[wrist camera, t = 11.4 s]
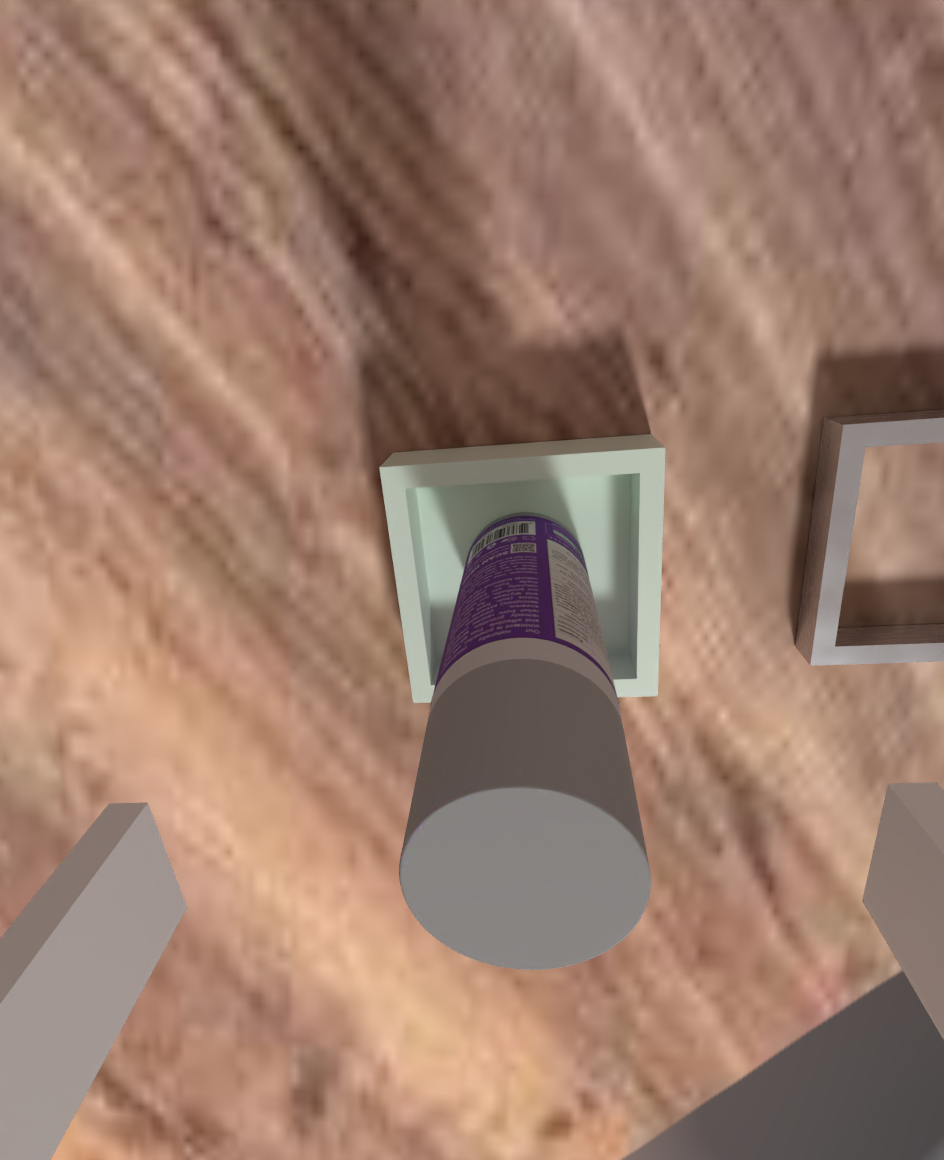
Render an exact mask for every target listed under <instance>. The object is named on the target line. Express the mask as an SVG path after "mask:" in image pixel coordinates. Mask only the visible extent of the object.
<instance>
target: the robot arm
mask: <svg viewBox="0 0 944 1160" xmlns="http://www.w3.org/2000/svg"><path fill="white" fill-rule="evenodd" d="M862 901H863V903H864V904H865V906H866V908H867V909H868V911H869V913H870V915H871V916H872V918H873V920H874V921H875V923H876V925H877V927H878V928H879V930H880V932H881V933H882V935H883V937H884V939H885V940H886V942H887V944H888V945H889V947H890V949H891V951H892V952H893V954H894V956H895V957H896V959H897V961H898V962H899V964H900V966H901V968H902V969H903V971H904V973H905V974H906V976H907V978H908V980H909V981H910V983H911V984H912V986H913V988H914V990H915V991H916V993H917V995H918V996H919V998H920V1000H921V1002H922V1004H923V1005H924V1007H925V1009H926V1010H927V1012H928V1014H929V1015H930V1017H931V1019H932V1021H933V1022H934V1024H935V1026H936V1027H937V1029H938V1031H939V1033H940V1034H941V1036H942V1038H943V1039H944V790H943V789H942V788H941V787H940V786H939V785H938V784H937V782H933V783H894V784H888V787H887V791H886V796H885V800H884V805H883V809H882V814H881V818H880V823H879V828H878V832H877V837H876V841H875V846H874V850H873V855H872V859H871V864H870V868H869V873H868V877H867V882H866V887H865V891H864V896H863V900H862ZM186 908H187V906H186V903H185V900H184V898H183V895H182V892H181V890H180V887H179V884H178V882H177V879H176V876H175V874H174V871H173V868H172V866H171V863H170V860H169V858H168V855H167V852H166V850H165V847H164V844H163V842H162V839H161V836H160V834H159V831H158V828H157V826H156V823H155V820H154V818H153V815H152V812H151V810H150V807H149V804H148V803H116V804H109V805H108V806H107V807H106V808H105V809H104V811H103V812H102V813H101V814H100V816H99V817H98V818H97V819H96V821H95V822H94V823H93V824H92V826H91V827H90V828H89V829H88V830H87V832H86V833H85V834H84V835H83V837H82V838H81V839H80V840H79V842H78V843H77V844H76V845H75V847H74V848H73V849H72V850H71V852H70V853H69V854H68V855H67V856H66V858H65V859H64V860H63V861H62V863H61V864H60V865H59V866H58V868H57V869H56V870H55V871H54V873H53V874H52V875H51V876H50V877H49V879H48V880H47V881H46V882H45V884H44V885H43V886H42V887H41V889H40V890H39V891H38V892H37V894H36V895H35V896H34V897H33V898H32V900H31V901H30V902H29V903H28V905H27V906H26V907H25V908H24V910H23V911H22V912H21V913H20V915H19V916H18V917H17V918H16V919H15V921H14V922H13V923H12V924H11V926H10V927H9V928H8V929H7V931H6V932H5V933H4V934H3V936H2V937H1V938H0V1160H51V1158H52V1156H53V1154H54V1153H55V1151H56V1149H57V1147H58V1145H59V1143H60V1141H61V1140H62V1138H63V1136H64V1134H65V1132H66V1130H67V1128H68V1127H69V1125H70V1123H71V1121H72V1119H73V1117H74V1116H75V1114H76V1112H77V1110H78V1108H79V1106H80V1104H81V1103H82V1101H83V1099H84V1097H85V1095H86V1093H87V1091H88V1090H89V1088H90V1086H91V1084H92V1082H93V1080H94V1079H95V1077H96V1075H97V1073H98V1071H99V1069H100V1067H101V1066H102V1064H103V1062H104V1060H105V1058H106V1056H107V1055H108V1053H109V1051H110V1049H111V1047H112V1045H113V1043H114V1042H115V1040H116V1038H117V1036H118V1034H119V1032H120V1030H121V1029H122V1027H123V1025H124V1023H125V1021H126V1019H127V1018H128V1016H129V1014H130V1012H131V1010H132V1008H133V1006H134V1005H135V1003H136V1001H137V999H138V997H139V995H140V994H141V992H142V990H143V988H144V986H145V984H146V982H147V981H148V979H149V977H150V975H151V973H152V971H153V969H154V968H155V966H156V964H157V962H158V960H159V958H160V957H161V955H162V953H163V951H164V949H165V947H166V945H167V944H168V942H169V940H170V938H171V936H172V934H173V933H174V931H175V929H176V927H177V925H178V923H179V921H180V920H181V918H182V916H183V914H184V912H185V910H186Z"/></svg>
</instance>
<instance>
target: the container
mask: <svg viewBox="0 0 944 1160" xmlns="http://www.w3.org/2000/svg"><path fill="white" fill-rule="evenodd" d="M399 877H400V884H401V888H402V892H403V895H404V898H405V900H406V903H407V905H408V907H409V908H410V910H411V912H412V913H413V915H414V916H415V918H416V919H417V920H418V921H419V923H420V924H421V925H422V926H423V927H424V928H425V929H426V930H427V931H428V932H429V933H430V934H431V935H432V936H434V937H435V938H436V939H437V940H438V941H440V942H441V943H443V944H444V945H446V946H447V947H449V948H451V949H453V950H454V951H456V952H458V953H460V954H462V955H464V956H467V957H469V958H471V959H474V960H477V961H480V962H483V963H487V964H490V965H494V966H499V967H504V968H512V969H523V970H543V969H553V968H560V967H565V966H570V965H574V964H577V963H580V962H583V961H586V960H589V959H591V958H594V957H596V956H598V955H600V954H602V953H604V952H606V951H607V950H609V949H611V948H612V947H614V946H615V945H616V944H618V943H619V942H620V941H622V940H623V939H624V938H625V937H626V936H627V935H628V934H629V933H630V932H631V931H632V930H633V929H634V927H635V926H636V924H637V923H638V922H639V920H640V918H641V917H642V915H643V913H644V911H645V908H646V906H647V903H648V900H649V895H650V887H651V875H650V869H649V863H648V858H647V852H646V847H645V842H644V836H643V831H642V826H641V820H640V815H639V810H638V804H637V799H636V794H635V788H634V783H633V778H632V772H631V767H630V762H629V756H628V751H627V746H626V740H625V735H624V730H623V725H622V719H621V713H620V707H619V702H618V698H617V694H616V689H615V685H614V681H613V677H612V672H611V668H610V664H609V660H608V656H607V651H606V647H605V643H604V639H603V634H602V630H601V626H600V622H599V618H598V613H597V609H596V605H595V601H594V596H593V592H592V588H591V584H590V580H589V575H588V571H587V567H586V563H585V559H584V555H583V552H582V549H581V547H580V544H579V543H578V541H577V539H576V538H575V536H574V535H573V534H572V532H571V531H570V530H569V529H568V528H567V527H565V526H564V525H563V524H562V523H560V522H559V521H557V520H555V519H553V518H551V517H549V516H546V515H543V514H539V513H533V512H519V513H513V514H509V515H506V516H503V517H500V518H498V519H496V520H494V521H493V522H491V523H490V524H488V525H487V526H486V527H485V528H484V529H483V530H482V531H481V532H480V533H479V534H478V535H477V537H476V538H475V540H474V541H473V543H472V545H471V547H470V550H469V553H468V556H467V560H466V564H465V568H464V572H463V576H462V580H461V584H460V588H459V592H458V596H457V600H456V604H455V608H454V612H453V616H452V620H451V624H450V628H449V632H448V636H447V640H446V644H445V648H444V652H443V656H442V660H441V664H440V668H439V672H438V676H437V680H436V684H435V688H434V692H433V696H432V700H431V707H430V712H429V718H428V723H427V728H426V733H425V738H424V743H423V748H422V753H421V758H420V763H419V768H418V773H417V778H416V783H415V788H414V793H413V798H412V803H411V808H410V813H409V818H408V823H407V828H406V833H405V838H404V843H403V848H402V853H401V858H400V865H399Z"/></svg>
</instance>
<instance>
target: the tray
mask: <svg viewBox="0 0 944 1160" xmlns="http://www.w3.org/2000/svg"><path fill="white" fill-rule="evenodd" d="M379 469H380V476H381V483H382V489H383V496H384V503H385V510H386V517H387V524H388V531H389V538H390V545H391V552H392V559H393V565H394V572H395V579H396V586H397V593H398V600H399V607H400V614H401V621H402V628H403V635H404V641H405V648H406V655H407V662H408V669H409V676H410V683H411V690H412V697H413V703H428V702H431V700H432V696H433V692H434V688H435V684H436V680H437V676H438V672H439V668H440V664H441V660H442V656H443V652H444V648H445V644H446V640H447V636H448V632H449V628H450V624H451V620H452V616H453V612H454V608H455V604H456V600H457V596H458V592H459V588H460V584H461V580H462V576H463V572H464V568H465V564H466V560H467V556H468V553H469V550H470V547H471V545H472V543H473V541H474V540H475V538H476V537H477V535H478V534H479V533H480V532H481V531H482V530H483V529H484V528H485V527H486V526H487V525H488V524H490V523H491V522H493V521H494V520H496V519H498V518H500V517H503V516H506V515H509V514H513V513H519V512H533V513H539V514H543V515H546V516H549V517H551V518H553V519H555V520H557V521H559V522H560V523H562V524H563V525H564V526H565V527H567V528H568V529H569V530H570V531H571V532H572V534H573V535H574V536H575V538H576V539H577V541H578V543H579V544H580V547H581V549H582V552H583V555H584V559H585V563H586V567H587V571H588V575H589V580H590V584H591V588H592V592H593V596H594V601H595V605H596V609H597V613H598V618H599V622H600V626H601V630H602V634H603V639H604V643H605V647H606V651H607V656H608V660H609V664H610V668H611V672H612V677H613V681H614V685H615V689H616V694H617V697H640V696H658V668H659V636H660V603H661V571H662V539H663V506H664V474H665V447H664V446H663V445H662V444H661V443H660V442H659V441H658V440H657V439H656V438H655V437H654V436H653V435H652V434H644V435H631V436H617V437H603V438H589V439H575V440H561V441H547V442H533V443H519V444H506V445H492V446H478V447H464V448H450V449H436V450H422V451H408V452H394V453H393V454H392V455H391V456H390V457H389V458H388V459H387V460H386V461H385V462H384V463H383V464H382V465H381V466H380V467H379Z"/></svg>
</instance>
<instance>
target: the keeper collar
mask: <svg viewBox="0 0 944 1160" xmlns="http://www.w3.org/2000/svg"><path fill="white" fill-rule="evenodd" d="M936 442H944V409H940V410H926V411H912V412H898V413H885V414H871V415H857V416H843V417H830V418H824V421H823V429H822V437H821V445H820V453H819V461H818V469H817V477H816V485H815V493H814V501H813V509H812V517H811V525H810V533H809V541H808V549H807V557H806V565H805V573H804V581H803V589H802V597H801V605H800V613H799V621H798V629H797V637H796V645H795V647H796V648H797V650H798V651H799V652H800V653H801V655H802V656H803V657H804V658H805V660H806V661H807V662H808V663H809V664H810V666H812V665H843V664H874V663H904V662H935V661H944V624H923V625H897V626H871V627H845V628H838V623H839V616H840V610H841V603H842V597H843V590H844V584H845V577H846V571H847V564H848V557H849V551H850V544H851V538H852V531H853V525H854V518H855V512H856V505H857V498H858V492H859V485H860V479H861V472H862V466H863V459H864V453H865V447H877V446H892V445H907V444H921V443H936Z"/></svg>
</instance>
